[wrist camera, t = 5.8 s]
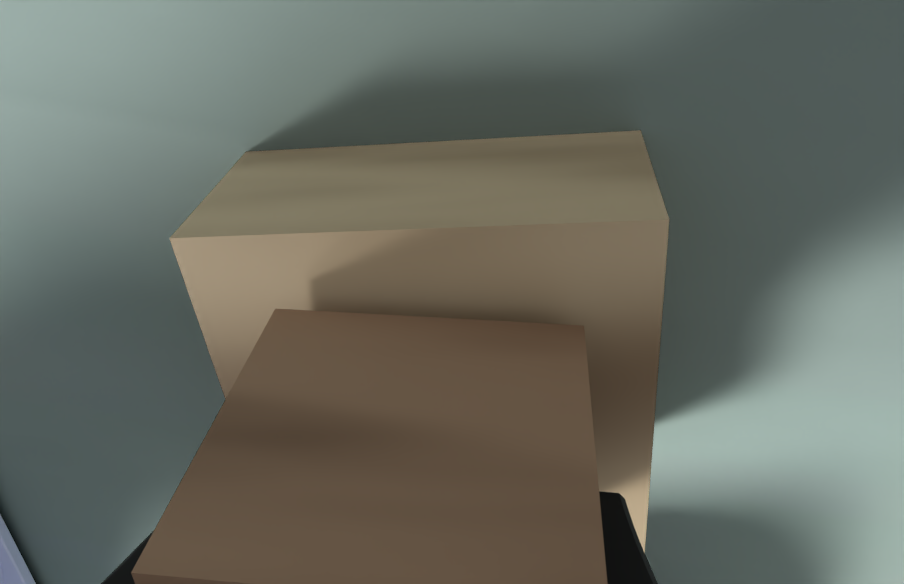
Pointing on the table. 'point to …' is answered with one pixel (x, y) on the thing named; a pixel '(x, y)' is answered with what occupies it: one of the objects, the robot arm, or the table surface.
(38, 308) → the table surface
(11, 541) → the robot arm
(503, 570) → the walnut cube
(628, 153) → the oak block
